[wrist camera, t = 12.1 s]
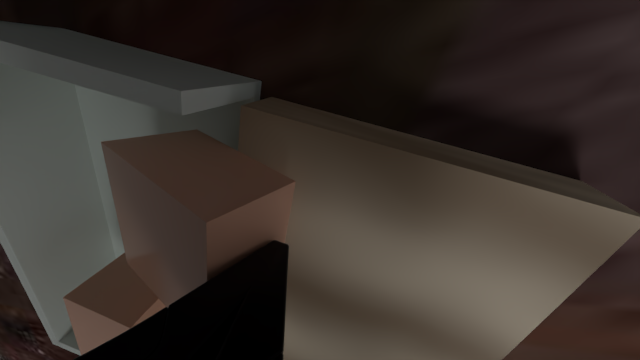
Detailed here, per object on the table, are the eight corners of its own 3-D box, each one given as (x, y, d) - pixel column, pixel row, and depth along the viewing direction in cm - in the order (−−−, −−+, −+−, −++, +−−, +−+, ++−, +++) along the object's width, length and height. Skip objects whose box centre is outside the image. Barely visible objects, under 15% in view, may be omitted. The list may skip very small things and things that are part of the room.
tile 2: (137, 385, 12) (82, 360, 12) (203, 298, 16) (163, 280, 16) (130, 327, 9) (62, 297, 10) (210, 244, 14) (163, 224, 14)
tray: (237, 327, 18) (195, 404, 14) (122, 284, 19) (53, 343, 15) (261, 80, 10) (181, 91, 6) (63, 28, 11) (-122, 6, 7)
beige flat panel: (411, 389, 16) (416, 441, 14) (244, 326, 17) (224, 364, 15) (581, 180, 9) (648, 219, 7) (271, 96, 10) (241, 105, 8)
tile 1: (276, 289, 10) (208, 353, 7) (199, 228, 12) (127, 263, 9) (295, 181, 7) (206, 222, 5) (196, 129, 10) (100, 141, 7)
